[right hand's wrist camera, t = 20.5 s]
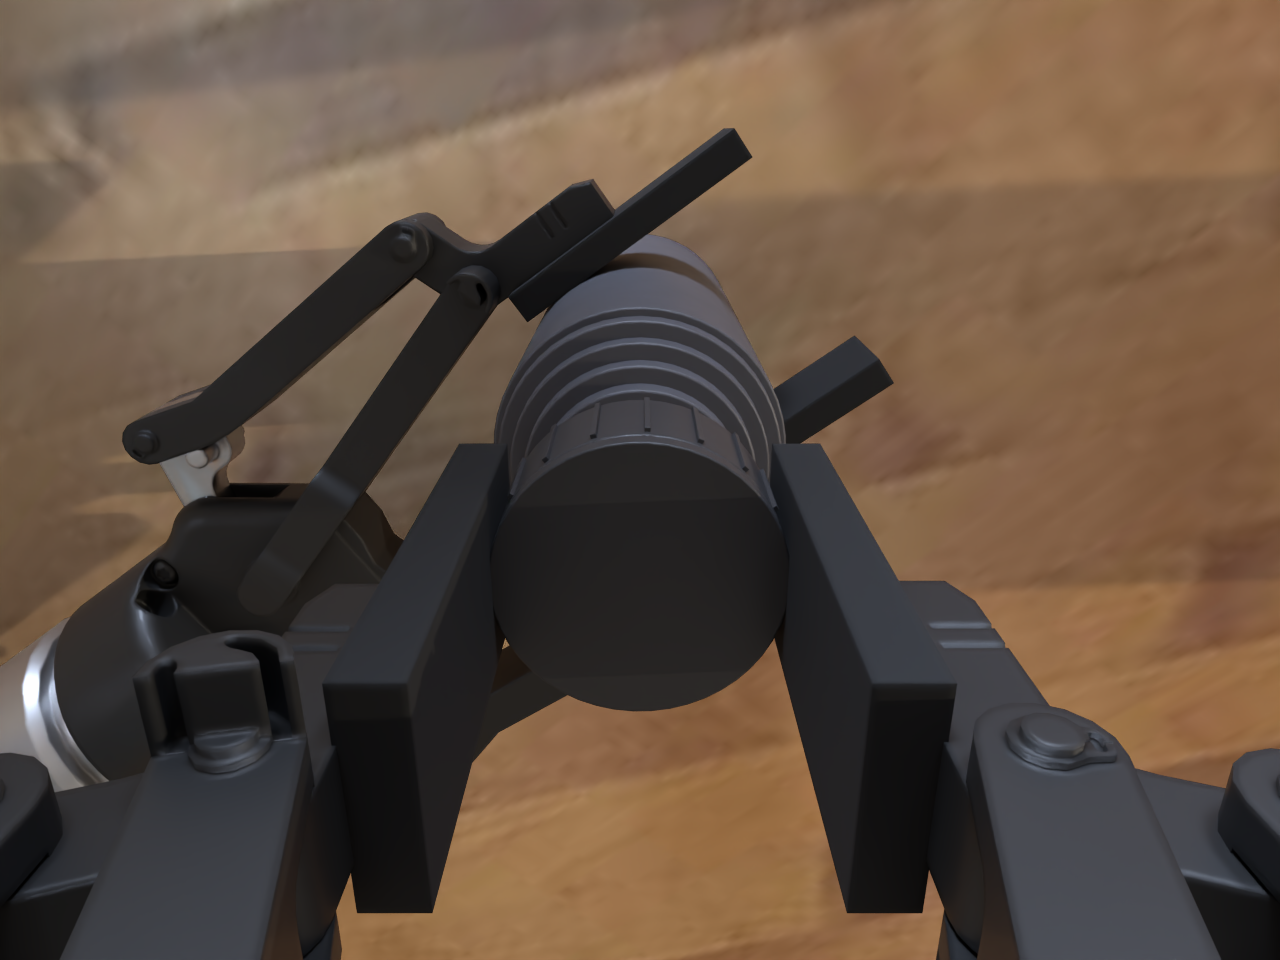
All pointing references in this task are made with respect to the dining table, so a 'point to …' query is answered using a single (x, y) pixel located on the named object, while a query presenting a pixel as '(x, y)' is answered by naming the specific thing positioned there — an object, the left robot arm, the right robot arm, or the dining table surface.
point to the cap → (639, 558)
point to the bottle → (642, 353)
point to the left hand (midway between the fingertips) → (806, 255)
